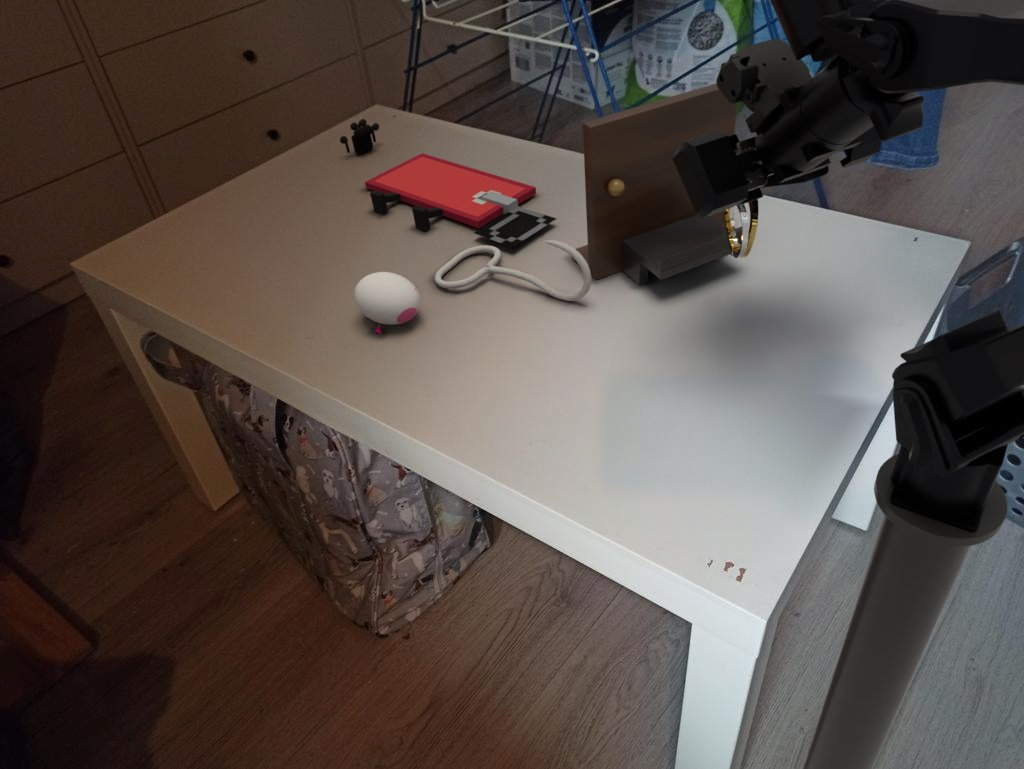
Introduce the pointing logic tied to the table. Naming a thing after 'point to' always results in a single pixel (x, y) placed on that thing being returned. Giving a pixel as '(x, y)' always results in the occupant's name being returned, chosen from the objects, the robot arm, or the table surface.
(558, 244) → the white cord
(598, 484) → the table surface
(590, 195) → the door rack
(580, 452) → the table surface
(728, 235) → the ring
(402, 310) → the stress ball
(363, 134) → the wireless earbuds
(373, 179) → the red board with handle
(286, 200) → the table surface
